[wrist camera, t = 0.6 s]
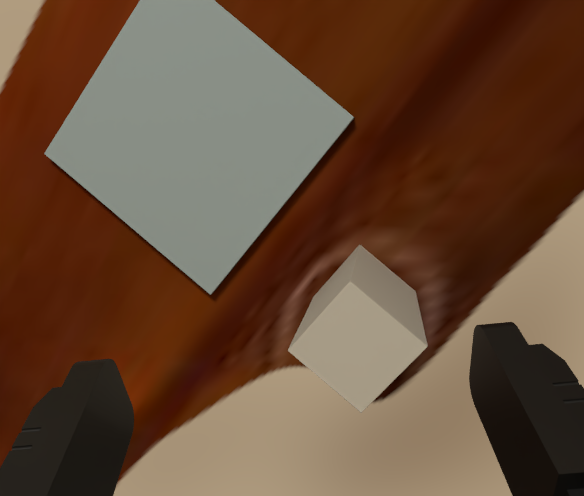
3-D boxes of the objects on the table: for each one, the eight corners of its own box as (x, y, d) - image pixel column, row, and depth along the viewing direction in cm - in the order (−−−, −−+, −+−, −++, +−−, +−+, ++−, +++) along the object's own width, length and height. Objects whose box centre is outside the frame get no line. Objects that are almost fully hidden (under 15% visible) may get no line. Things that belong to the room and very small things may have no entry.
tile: (169, -38, 33) (165, -41, 33) (354, 117, 33) (353, 117, 32) (49, 153, 37) (44, 153, 37) (213, 292, 37) (210, 294, 36)
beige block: (359, 244, 34) (349, 280, 25) (415, 291, 34) (427, 346, 25) (313, 296, 36) (287, 350, 26) (367, 341, 36) (361, 413, 26)
